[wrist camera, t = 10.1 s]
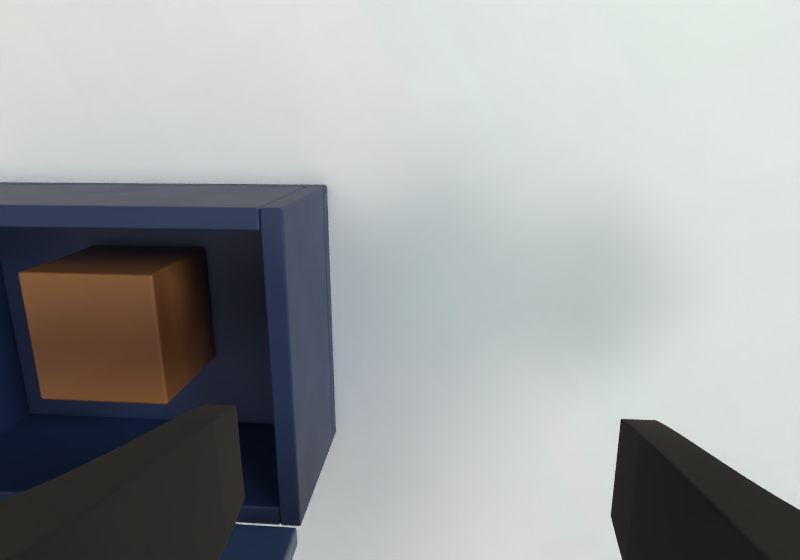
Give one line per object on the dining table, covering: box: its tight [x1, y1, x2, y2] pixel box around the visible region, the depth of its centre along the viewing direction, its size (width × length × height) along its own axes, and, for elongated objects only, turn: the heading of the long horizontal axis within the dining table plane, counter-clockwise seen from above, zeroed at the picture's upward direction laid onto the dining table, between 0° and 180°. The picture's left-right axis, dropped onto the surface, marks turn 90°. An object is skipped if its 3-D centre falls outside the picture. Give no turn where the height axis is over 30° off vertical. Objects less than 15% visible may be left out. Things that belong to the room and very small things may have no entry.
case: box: [0, 182, 336, 526], centre depth 18 cm, size 9×12×5 cm
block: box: [18, 246, 215, 404], centre depth 18 cm, size 4×4×4 cm
